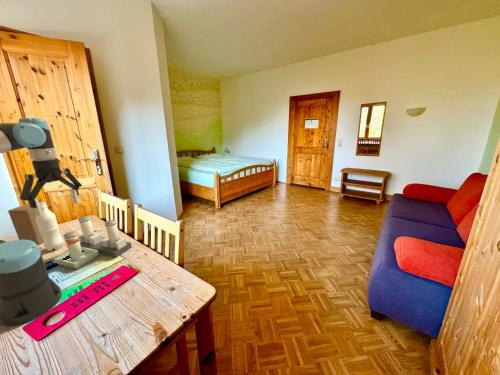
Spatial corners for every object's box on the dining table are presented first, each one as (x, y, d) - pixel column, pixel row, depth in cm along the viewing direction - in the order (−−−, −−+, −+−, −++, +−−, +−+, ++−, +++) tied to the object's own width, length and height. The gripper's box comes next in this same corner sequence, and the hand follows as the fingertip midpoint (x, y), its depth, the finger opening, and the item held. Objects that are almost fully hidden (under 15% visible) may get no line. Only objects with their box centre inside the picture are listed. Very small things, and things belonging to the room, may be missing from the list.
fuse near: (115, 249, 98) (109, 224, 94) (108, 247, 99) (102, 223, 95) (123, 244, 102) (118, 220, 98) (116, 242, 103) (111, 219, 100)
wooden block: (38, 245, 108) (26, 210, 102) (20, 245, 108) (7, 210, 102) (56, 235, 117) (46, 203, 111) (39, 235, 117) (28, 203, 112)
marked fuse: (76, 262, 92) (68, 237, 88) (68, 260, 93) (60, 235, 90) (86, 256, 96) (79, 231, 93) (79, 254, 98) (72, 230, 94)
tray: (76, 269, 88) (74, 264, 88) (55, 264, 92) (53, 258, 91) (99, 255, 98) (98, 250, 97) (79, 251, 102) (78, 246, 101)
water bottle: (68, 244, 108) (54, 200, 101) (54, 252, 101) (39, 205, 94) (56, 243, 109) (41, 200, 101) (41, 251, 102) (25, 205, 94)
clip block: (116, 257, 96) (113, 246, 94) (76, 249, 103) (73, 238, 101) (131, 247, 104) (129, 236, 103) (93, 240, 112) (91, 229, 110)
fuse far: (89, 243, 103) (82, 220, 99) (82, 242, 104) (76, 219, 100) (98, 239, 107) (92, 216, 103) (91, 238, 108) (85, 215, 104)
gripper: (6, 164, 68) (26, 222, 74) (84, 155, 91) (94, 199, 97) (-7, 164, 71) (14, 219, 77) (72, 155, 93) (83, 198, 99)
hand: (59, 208), depth 87 cm, fingers open, 13 cm apart
